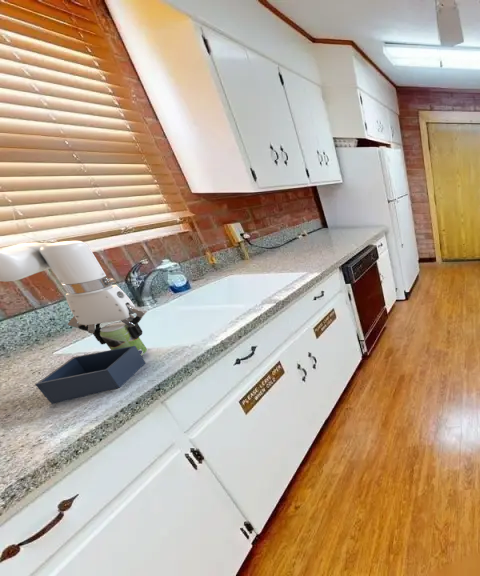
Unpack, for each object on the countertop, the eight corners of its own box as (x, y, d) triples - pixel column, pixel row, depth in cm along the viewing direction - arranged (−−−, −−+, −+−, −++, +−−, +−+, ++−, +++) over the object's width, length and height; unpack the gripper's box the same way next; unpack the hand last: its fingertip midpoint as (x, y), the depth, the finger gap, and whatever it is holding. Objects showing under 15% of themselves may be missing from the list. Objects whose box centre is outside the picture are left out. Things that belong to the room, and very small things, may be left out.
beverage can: (146, 349, 97) (126, 317, 92) (152, 355, 93) (131, 322, 88) (116, 359, 92) (93, 326, 87) (121, 366, 88) (98, 332, 83)
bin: (51, 404, 75) (34, 384, 72) (87, 375, 85) (73, 356, 82) (120, 389, 80) (107, 370, 77) (146, 363, 90) (135, 345, 87)
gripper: (139, 276, 89) (167, 326, 96) (52, 285, 82) (89, 340, 89) (124, 284, 83) (155, 338, 90) (28, 296, 76) (70, 353, 83)
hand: (122, 338), depth 89 cm, fingers closed on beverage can, 6 cm apart
